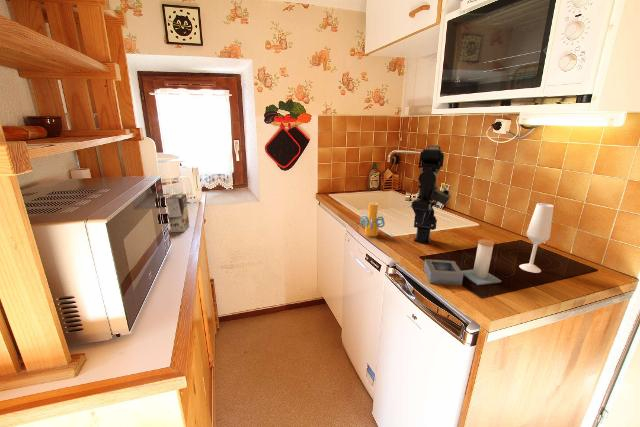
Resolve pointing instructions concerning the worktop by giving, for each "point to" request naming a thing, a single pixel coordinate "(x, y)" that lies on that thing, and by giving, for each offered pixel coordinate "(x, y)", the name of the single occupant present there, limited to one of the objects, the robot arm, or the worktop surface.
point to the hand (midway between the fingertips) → (423, 222)
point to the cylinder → (372, 221)
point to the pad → (479, 281)
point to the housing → (443, 272)
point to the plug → (483, 258)
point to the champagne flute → (538, 232)
